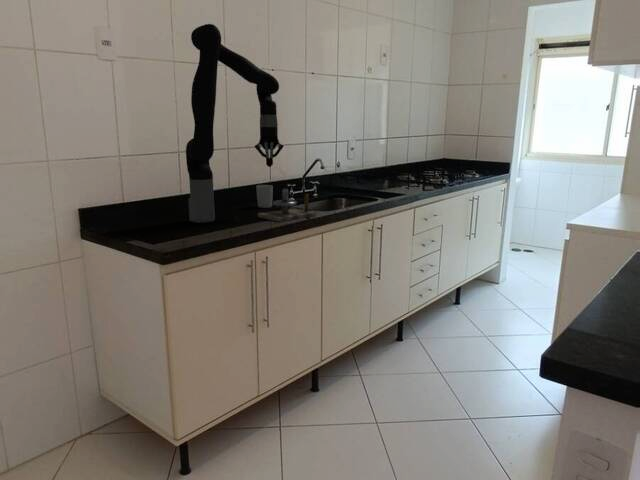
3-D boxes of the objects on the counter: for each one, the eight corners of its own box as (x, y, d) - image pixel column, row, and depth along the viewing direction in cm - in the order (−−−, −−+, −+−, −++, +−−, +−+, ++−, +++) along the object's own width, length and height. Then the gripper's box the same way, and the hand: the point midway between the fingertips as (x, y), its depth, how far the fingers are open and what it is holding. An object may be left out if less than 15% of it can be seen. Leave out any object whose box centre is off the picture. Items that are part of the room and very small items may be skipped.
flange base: (279, 221, 201) (279, 199, 198) (257, 216, 211) (257, 196, 209) (316, 215, 214) (316, 195, 212) (294, 211, 224) (293, 191, 222)
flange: (296, 206, 205) (296, 194, 204) (272, 206, 205) (272, 194, 204) (296, 199, 223) (296, 188, 222) (274, 199, 222) (274, 188, 221)
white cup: (261, 208, 232) (261, 187, 230) (253, 206, 239) (253, 185, 236) (276, 206, 237) (275, 186, 235) (268, 204, 243) (267, 184, 241)
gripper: (252, 126, 208) (253, 167, 212) (283, 126, 209) (284, 167, 213) (253, 126, 216) (255, 166, 220) (284, 125, 216) (285, 165, 220)
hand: (269, 166), depth 216 cm, fingers closed
